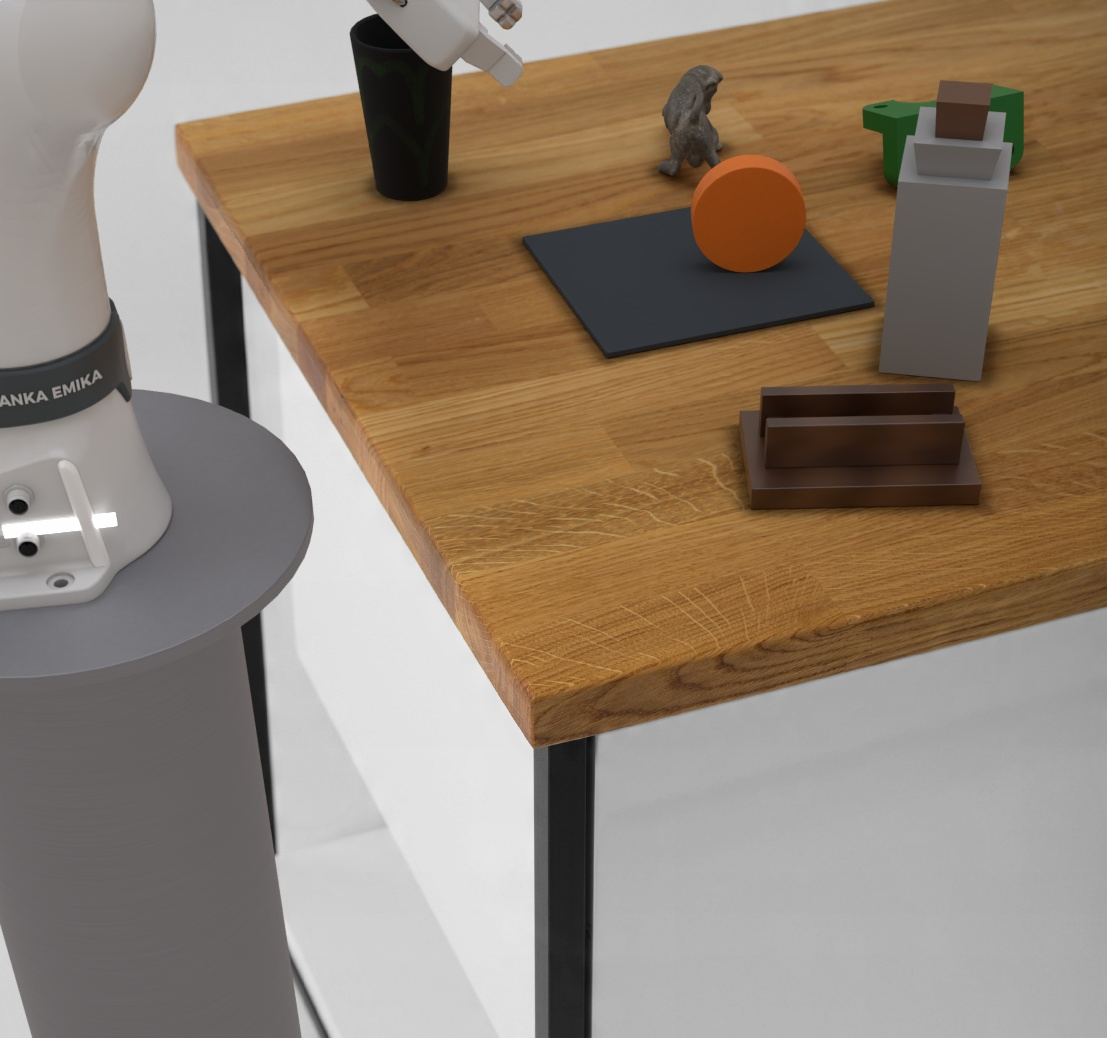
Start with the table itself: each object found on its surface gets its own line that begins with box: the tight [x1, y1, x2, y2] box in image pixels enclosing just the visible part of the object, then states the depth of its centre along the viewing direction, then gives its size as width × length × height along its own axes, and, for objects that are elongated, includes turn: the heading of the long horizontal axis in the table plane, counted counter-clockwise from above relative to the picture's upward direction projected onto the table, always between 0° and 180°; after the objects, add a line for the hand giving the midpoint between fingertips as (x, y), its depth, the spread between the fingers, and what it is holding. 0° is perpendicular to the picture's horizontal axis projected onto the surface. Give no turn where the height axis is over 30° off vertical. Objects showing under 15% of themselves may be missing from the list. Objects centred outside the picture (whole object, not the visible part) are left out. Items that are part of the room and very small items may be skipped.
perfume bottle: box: [878, 79, 1013, 382], centre depth 134 cm, size 7×7×18 cm
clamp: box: [862, 83, 1025, 188], centre depth 158 cm, size 12×6×9 cm, turn 108°
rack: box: [738, 382, 982, 510], centre depth 128 cm, size 14×9×4 cm, turn 91°
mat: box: [521, 206, 876, 359], centre depth 148 cm, size 20×18×1 cm
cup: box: [348, 12, 454, 201], centre depth 155 cm, size 8×8×12 cm
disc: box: [690, 154, 807, 273], centre depth 145 cm, size 8×2×8 cm
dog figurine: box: [657, 64, 724, 177], centre depth 159 cm, size 12×6×7 cm, turn 178°
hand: (516, 47), depth 137 cm, fingers open, 8 cm apart
